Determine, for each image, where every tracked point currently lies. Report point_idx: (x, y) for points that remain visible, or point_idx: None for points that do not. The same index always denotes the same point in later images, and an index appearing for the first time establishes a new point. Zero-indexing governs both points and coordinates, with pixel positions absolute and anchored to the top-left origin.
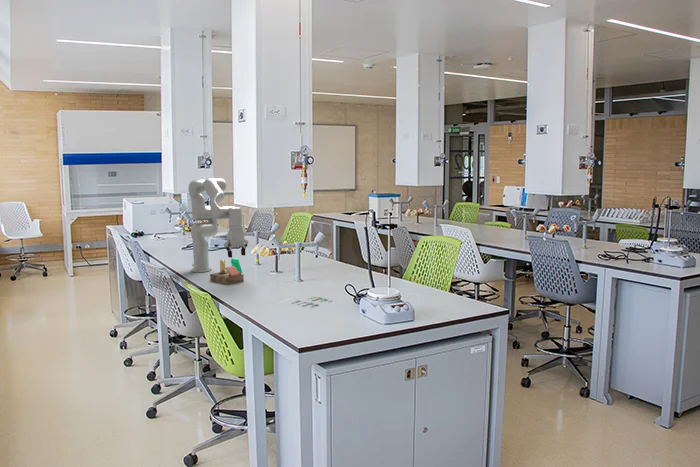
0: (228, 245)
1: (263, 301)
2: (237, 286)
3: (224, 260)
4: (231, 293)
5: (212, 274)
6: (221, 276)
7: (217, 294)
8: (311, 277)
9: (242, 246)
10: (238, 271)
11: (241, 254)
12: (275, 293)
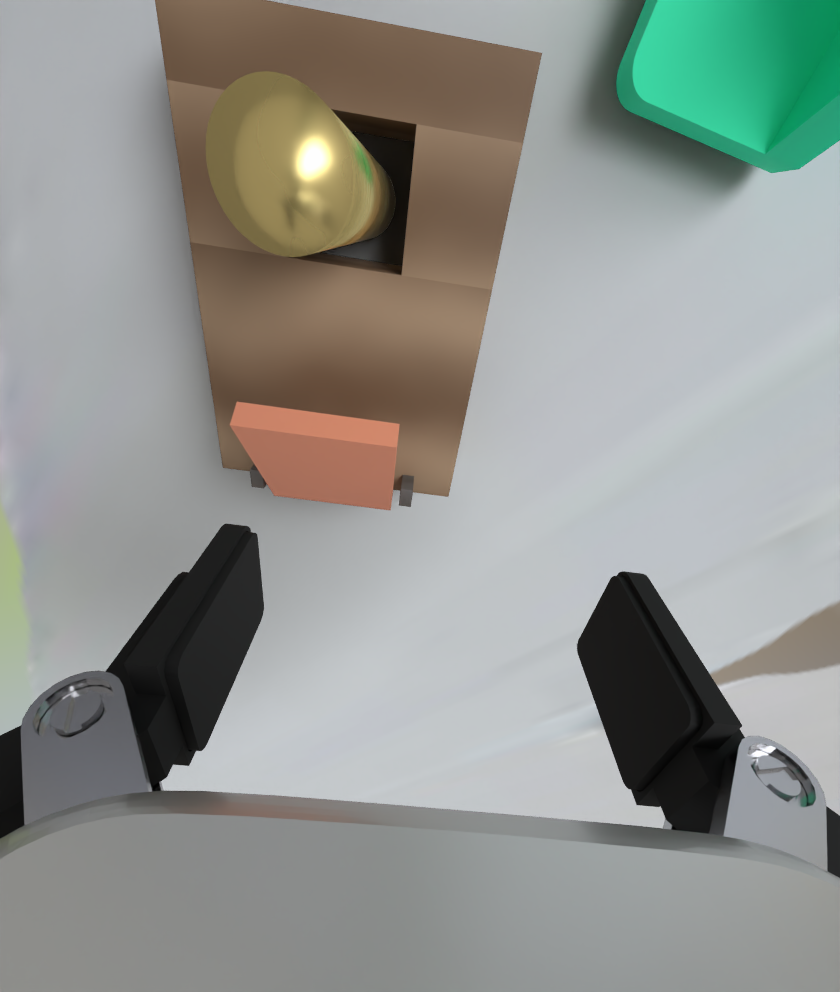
0: (65, 877)
1: (185, 774)
2: (270, 547)
3: (314, 243)
4: (129, 631)
5: (168, 89)
6: (208, 362)
7: (35, 591)
8: (749, 714)
9: (770, 837)
10: (766, 124)
11: (616, 587)
12: (313, 751)
